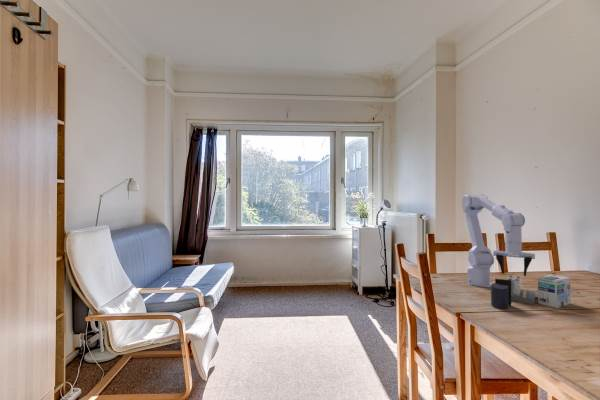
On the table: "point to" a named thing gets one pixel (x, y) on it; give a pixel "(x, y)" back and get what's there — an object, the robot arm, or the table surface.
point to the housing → (515, 285)
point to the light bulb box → (554, 290)
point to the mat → (534, 291)
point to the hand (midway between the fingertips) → (513, 274)
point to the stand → (524, 297)
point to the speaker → (501, 293)
